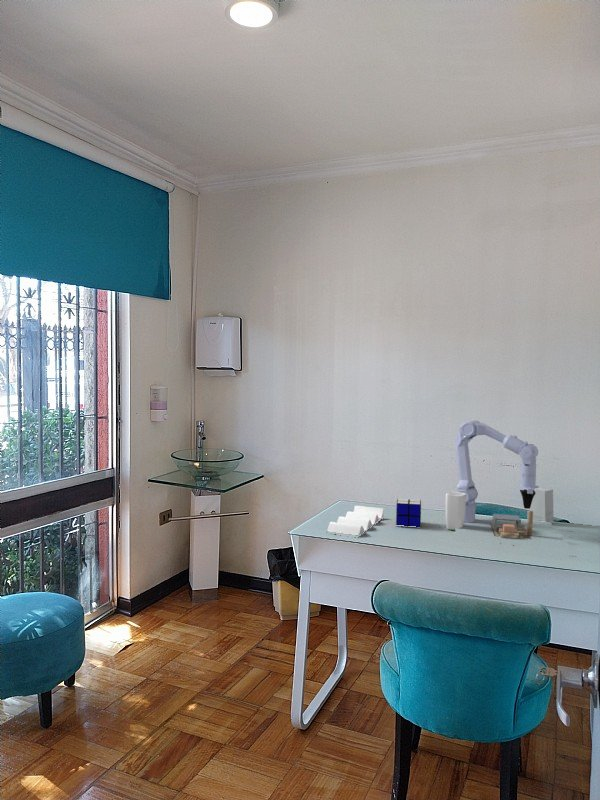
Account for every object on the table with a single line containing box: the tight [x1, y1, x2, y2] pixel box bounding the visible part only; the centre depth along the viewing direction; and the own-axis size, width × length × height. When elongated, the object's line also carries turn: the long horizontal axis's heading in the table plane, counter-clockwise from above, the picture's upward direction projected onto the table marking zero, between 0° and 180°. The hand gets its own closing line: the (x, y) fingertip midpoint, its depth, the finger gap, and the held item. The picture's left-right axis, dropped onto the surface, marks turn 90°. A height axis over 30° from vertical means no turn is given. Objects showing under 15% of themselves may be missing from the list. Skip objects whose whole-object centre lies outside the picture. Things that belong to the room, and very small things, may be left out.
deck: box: [489, 523, 532, 540], centre depth 251 cm, size 14×20×2 cm
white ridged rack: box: [326, 504, 384, 536], centre depth 260 cm, size 13×35×5 cm, turn 156°
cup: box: [445, 491, 466, 531], centre depth 257 cm, size 7×7×15 cm
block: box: [502, 523, 515, 533], centre depth 243 cm, size 4×4×4 cm
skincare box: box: [529, 487, 554, 524], centre depth 271 cm, size 8×6×15 cm
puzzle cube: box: [395, 498, 422, 528], centre depth 264 cm, size 10×10×10 cm
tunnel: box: [491, 513, 522, 532], centre depth 252 cm, size 10×8×5 cm
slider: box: [499, 510, 534, 539], centre depth 242 cm, size 12×8×9 cm, turn 78°
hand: (527, 508), depth 252 cm, fingers closed
